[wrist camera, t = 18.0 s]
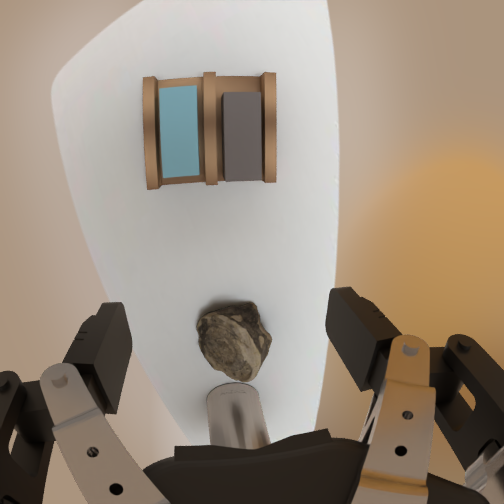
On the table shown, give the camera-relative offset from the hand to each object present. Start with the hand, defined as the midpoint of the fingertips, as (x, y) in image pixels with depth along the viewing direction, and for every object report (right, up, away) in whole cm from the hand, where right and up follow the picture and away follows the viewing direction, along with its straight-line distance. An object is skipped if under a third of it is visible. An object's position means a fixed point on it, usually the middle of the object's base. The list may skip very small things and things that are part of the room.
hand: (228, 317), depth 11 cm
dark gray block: (-1, +15, +20) cm, 25 cm away
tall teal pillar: (-7, +15, +19) cm, 25 cm away
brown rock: (-2, -8, +31) cm, 32 cm away
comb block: (-4, +16, +20) cm, 26 cm away
